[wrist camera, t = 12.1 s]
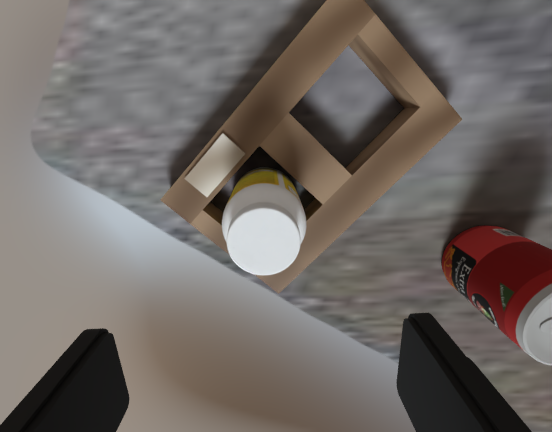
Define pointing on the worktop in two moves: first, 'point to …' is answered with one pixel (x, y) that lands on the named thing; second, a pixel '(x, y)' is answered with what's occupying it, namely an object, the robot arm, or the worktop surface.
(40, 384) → the robot arm
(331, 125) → the worktop surface
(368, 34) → the socket rack
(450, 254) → the canned food
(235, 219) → the pill bottle
